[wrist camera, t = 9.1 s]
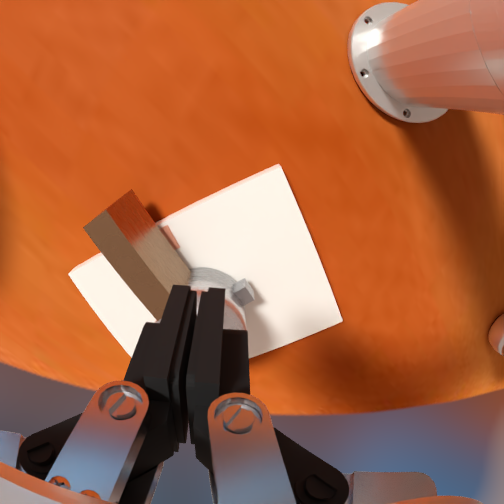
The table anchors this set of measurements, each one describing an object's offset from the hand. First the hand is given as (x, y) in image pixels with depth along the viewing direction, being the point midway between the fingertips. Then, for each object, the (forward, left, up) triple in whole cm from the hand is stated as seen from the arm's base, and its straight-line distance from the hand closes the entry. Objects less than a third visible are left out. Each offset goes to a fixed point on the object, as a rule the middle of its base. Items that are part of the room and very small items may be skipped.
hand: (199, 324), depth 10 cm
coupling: (+7, +5, -18) cm, 20 cm away
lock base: (+6, +9, -20) cm, 23 cm away
